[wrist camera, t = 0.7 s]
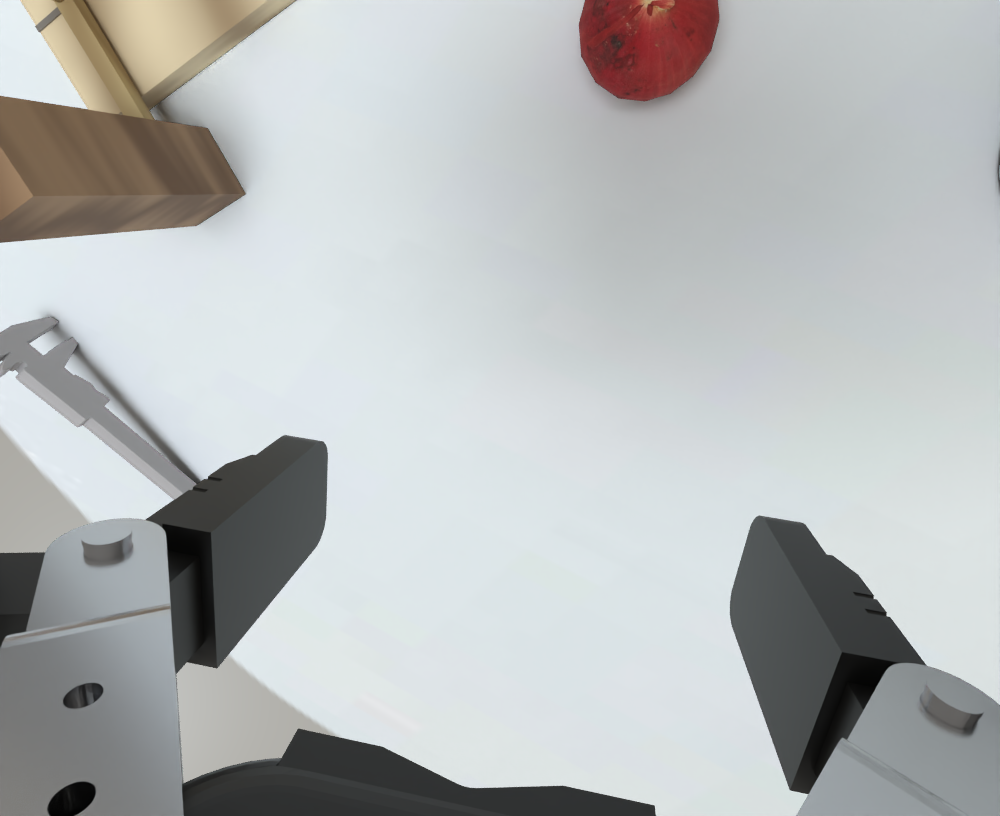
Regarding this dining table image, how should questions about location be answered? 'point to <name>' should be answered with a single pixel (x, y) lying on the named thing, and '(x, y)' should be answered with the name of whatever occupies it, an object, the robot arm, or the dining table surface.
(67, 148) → the block
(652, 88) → the onion
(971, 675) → the dining table surface
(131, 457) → the caliper
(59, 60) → the board
